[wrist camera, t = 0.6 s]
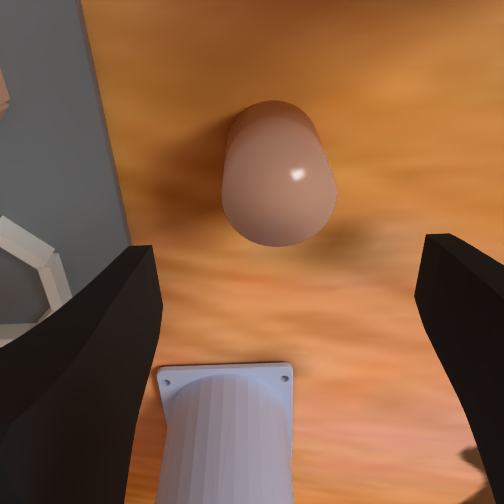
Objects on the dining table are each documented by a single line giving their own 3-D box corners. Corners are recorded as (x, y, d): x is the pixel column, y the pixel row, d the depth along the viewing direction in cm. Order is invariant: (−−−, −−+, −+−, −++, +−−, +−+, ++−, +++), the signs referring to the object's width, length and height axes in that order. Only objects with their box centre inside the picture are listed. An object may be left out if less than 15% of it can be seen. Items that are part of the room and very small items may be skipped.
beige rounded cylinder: (316, 187, 21) (333, 244, 17) (229, 190, 21) (225, 248, 17) (319, 98, 19) (340, 139, 15) (223, 102, 19) (217, 144, 15)
